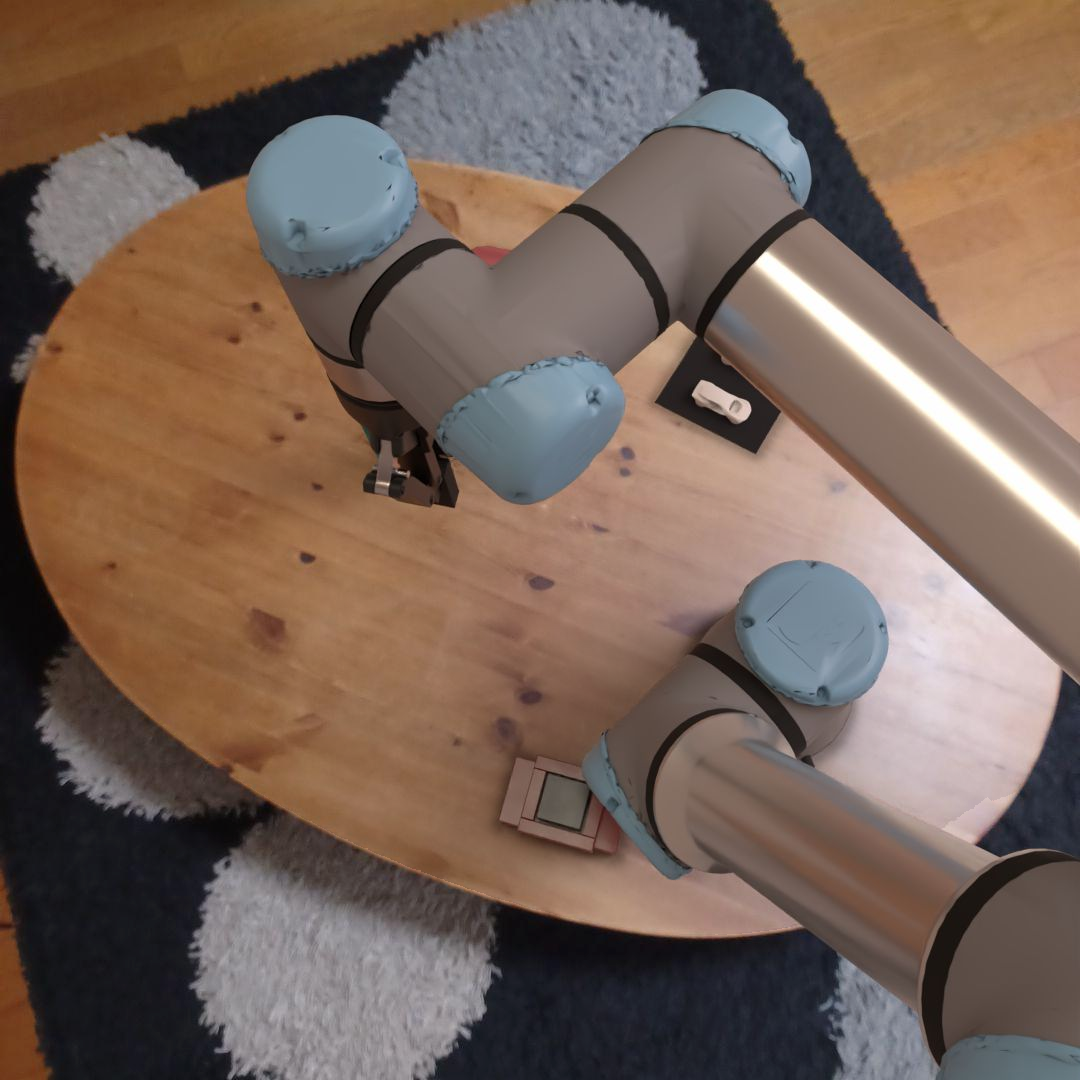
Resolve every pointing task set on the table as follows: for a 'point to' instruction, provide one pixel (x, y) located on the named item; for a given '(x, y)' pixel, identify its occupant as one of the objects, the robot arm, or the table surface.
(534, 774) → the wooden frame
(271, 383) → the table surface
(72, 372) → the table surface
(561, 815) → the black square panel
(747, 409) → the black square board
